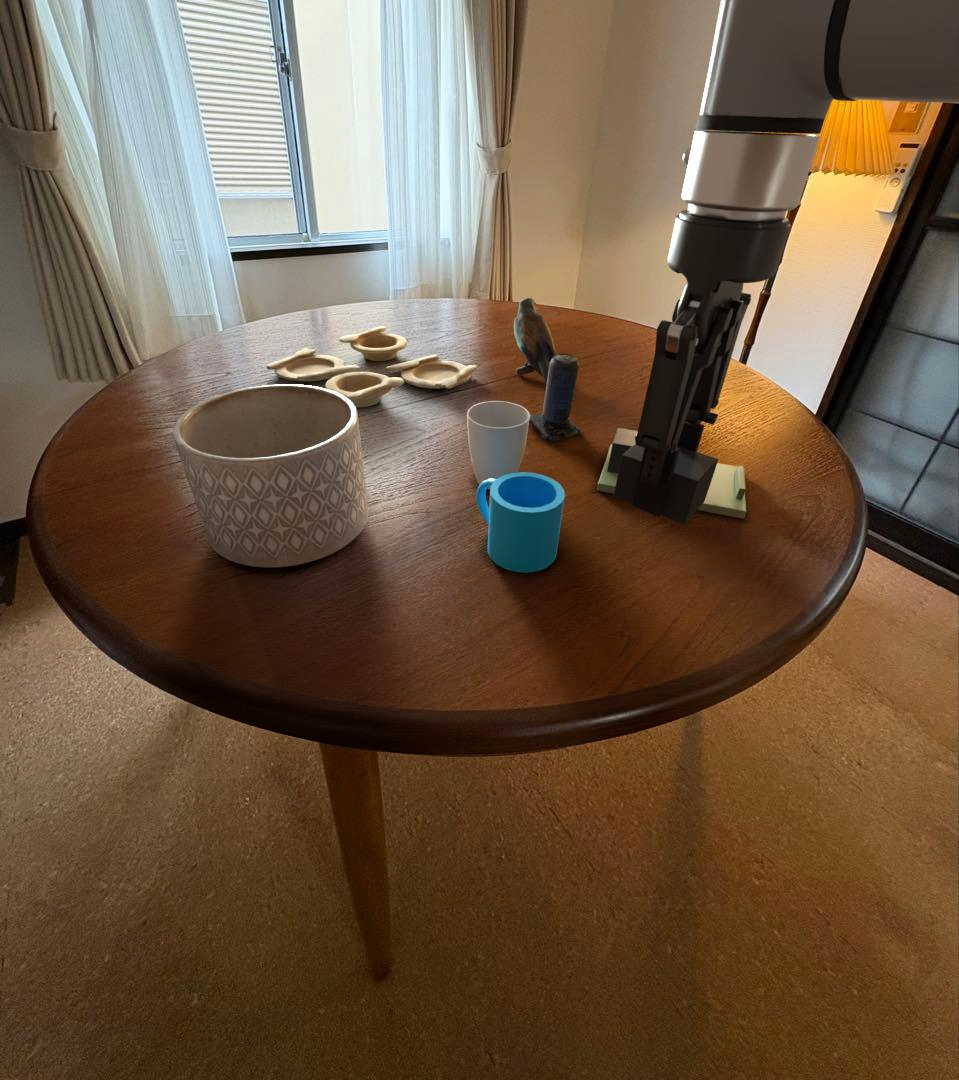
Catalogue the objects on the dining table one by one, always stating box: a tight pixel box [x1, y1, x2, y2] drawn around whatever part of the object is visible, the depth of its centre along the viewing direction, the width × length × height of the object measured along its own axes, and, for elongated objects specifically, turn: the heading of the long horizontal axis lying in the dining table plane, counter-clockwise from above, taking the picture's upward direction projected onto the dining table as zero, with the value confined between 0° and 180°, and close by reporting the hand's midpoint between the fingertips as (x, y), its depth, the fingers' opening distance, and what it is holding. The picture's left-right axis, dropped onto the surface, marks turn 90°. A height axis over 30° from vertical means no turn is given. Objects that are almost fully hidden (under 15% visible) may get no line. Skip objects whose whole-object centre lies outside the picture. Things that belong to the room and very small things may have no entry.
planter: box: [172, 384, 370, 568], centre depth 64 cm, size 19×19×14 cm
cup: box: [466, 400, 531, 490], centre depth 75 cm, size 8×8×10 cm
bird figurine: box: [513, 297, 557, 385], centre depth 106 cm, size 13×10×20 cm
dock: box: [596, 427, 747, 520], centre depth 77 cm, size 19×12×6 cm, turn 71°
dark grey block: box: [613, 444, 719, 525], centre depth 51 cm, size 7×5×4 cm
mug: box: [475, 471, 566, 574], centre depth 64 cm, size 12×8×8 cm
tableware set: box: [265, 325, 478, 408], centre depth 106 cm, size 35×29×4 cm
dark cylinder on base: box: [529, 352, 581, 443], centre depth 88 cm, size 9×8×12 cm
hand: (659, 495), depth 52 cm, fingers closed on dark grey block, 5 cm apart
